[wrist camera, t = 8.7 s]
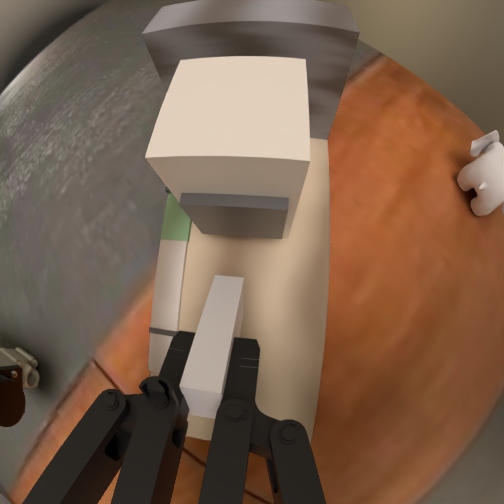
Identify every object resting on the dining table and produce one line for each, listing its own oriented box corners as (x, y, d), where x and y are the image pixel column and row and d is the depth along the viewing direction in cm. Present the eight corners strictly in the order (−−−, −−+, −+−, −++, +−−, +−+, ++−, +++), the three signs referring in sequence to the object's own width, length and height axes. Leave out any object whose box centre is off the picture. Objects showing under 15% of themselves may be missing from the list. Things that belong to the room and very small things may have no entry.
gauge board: (322, 116, 23) (347, 6, 11) (307, 439, 17) (343, 549, 5) (196, 111, 24) (161, 6, 11) (156, 420, 18) (66, 496, 6)
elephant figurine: (508, 207, 20) (546, 184, 13) (472, 239, 20) (520, 216, 13) (477, 150, 22) (509, 120, 15) (436, 170, 21) (474, 133, 14)
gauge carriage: (291, 146, 20) (304, 43, 10) (287, 246, 18) (310, 176, 9) (180, 143, 21) (137, 53, 11) (161, 237, 19) (81, 175, 9)
